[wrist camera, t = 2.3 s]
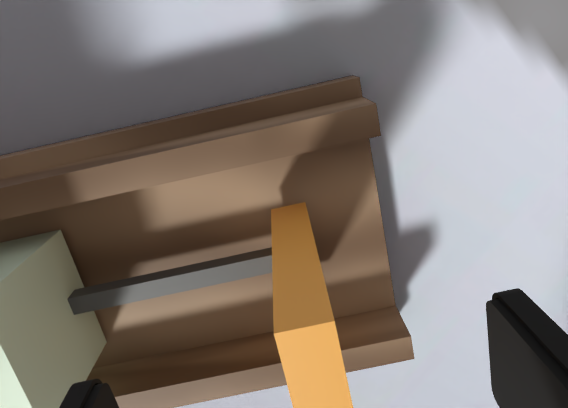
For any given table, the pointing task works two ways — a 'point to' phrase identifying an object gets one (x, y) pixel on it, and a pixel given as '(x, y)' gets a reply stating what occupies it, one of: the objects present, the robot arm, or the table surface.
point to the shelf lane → (216, 235)
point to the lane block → (85, 300)
